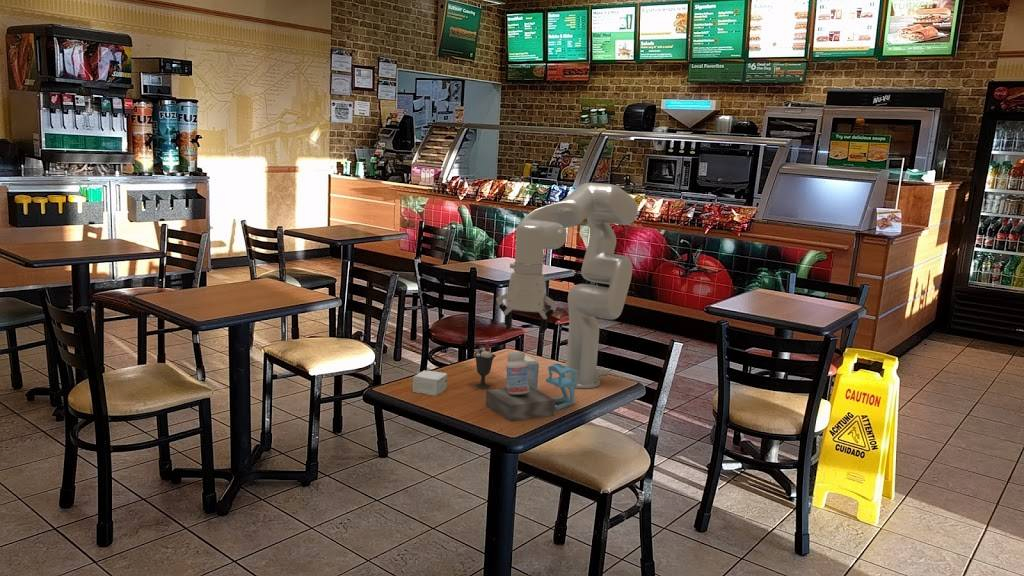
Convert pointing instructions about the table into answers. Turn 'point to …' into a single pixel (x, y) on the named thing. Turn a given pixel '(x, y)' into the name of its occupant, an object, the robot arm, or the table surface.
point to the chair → (562, 383)
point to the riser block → (520, 404)
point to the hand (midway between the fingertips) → (525, 330)
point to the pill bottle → (517, 374)
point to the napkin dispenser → (531, 372)
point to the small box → (429, 382)
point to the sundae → (483, 364)
